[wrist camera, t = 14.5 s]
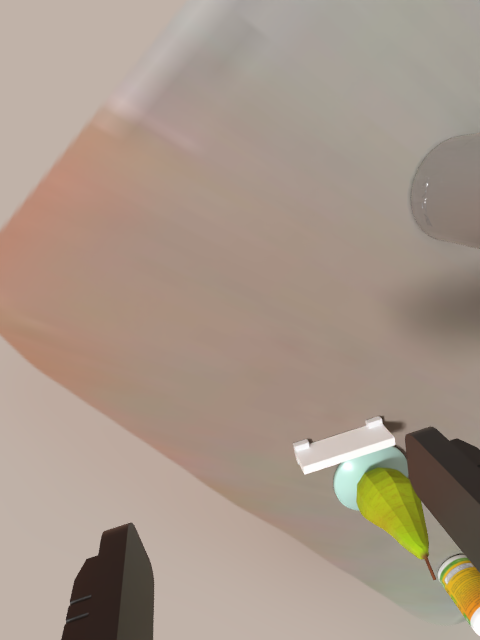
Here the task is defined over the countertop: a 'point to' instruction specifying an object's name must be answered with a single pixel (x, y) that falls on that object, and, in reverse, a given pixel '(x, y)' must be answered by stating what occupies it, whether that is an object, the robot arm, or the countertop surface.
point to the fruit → (394, 509)
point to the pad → (355, 469)
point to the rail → (343, 446)
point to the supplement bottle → (463, 587)
